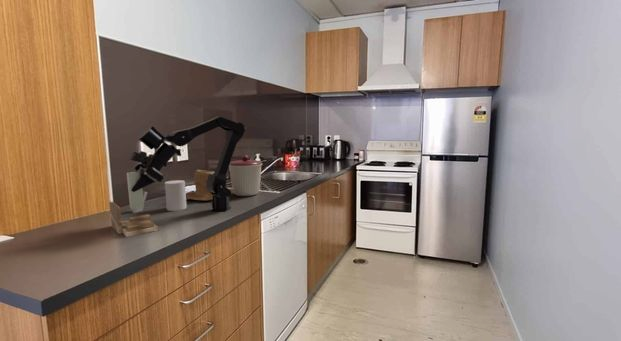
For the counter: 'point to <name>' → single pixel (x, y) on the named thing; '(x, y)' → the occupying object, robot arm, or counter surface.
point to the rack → (124, 222)
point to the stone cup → (200, 187)
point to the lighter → (140, 208)
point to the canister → (245, 176)
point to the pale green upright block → (137, 196)
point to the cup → (175, 195)
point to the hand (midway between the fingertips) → (131, 190)
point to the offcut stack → (139, 223)
